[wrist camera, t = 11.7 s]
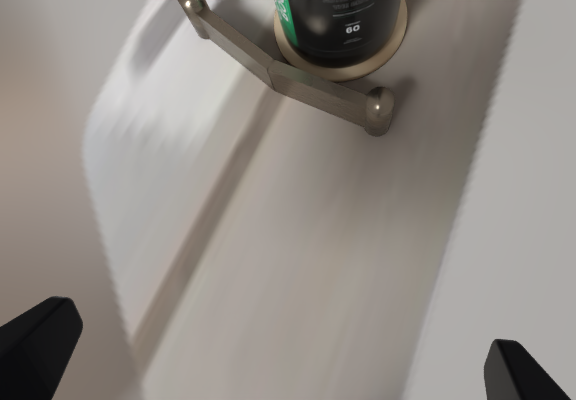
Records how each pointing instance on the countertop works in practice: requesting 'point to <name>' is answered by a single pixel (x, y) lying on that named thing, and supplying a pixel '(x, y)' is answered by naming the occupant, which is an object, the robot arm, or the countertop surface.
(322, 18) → the supplement bottle
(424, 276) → the countertop surface
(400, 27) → the cork coaster
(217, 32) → the bent rail
